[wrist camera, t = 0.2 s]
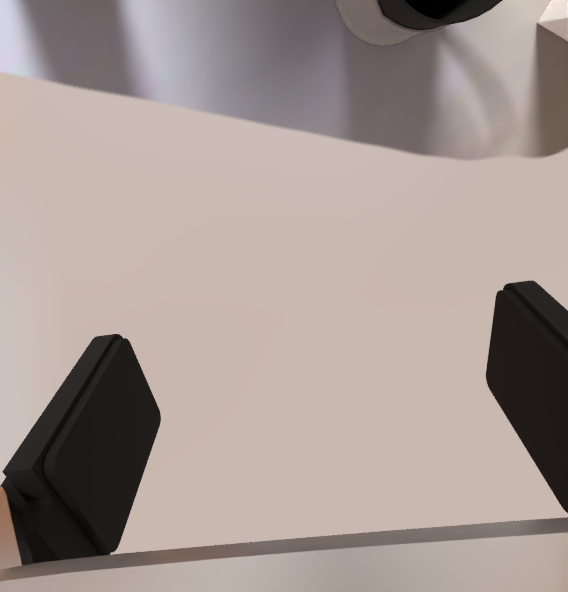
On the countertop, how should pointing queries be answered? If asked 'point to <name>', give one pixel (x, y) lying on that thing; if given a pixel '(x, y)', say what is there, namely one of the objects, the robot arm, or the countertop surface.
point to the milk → (556, 18)
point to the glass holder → (405, 17)
